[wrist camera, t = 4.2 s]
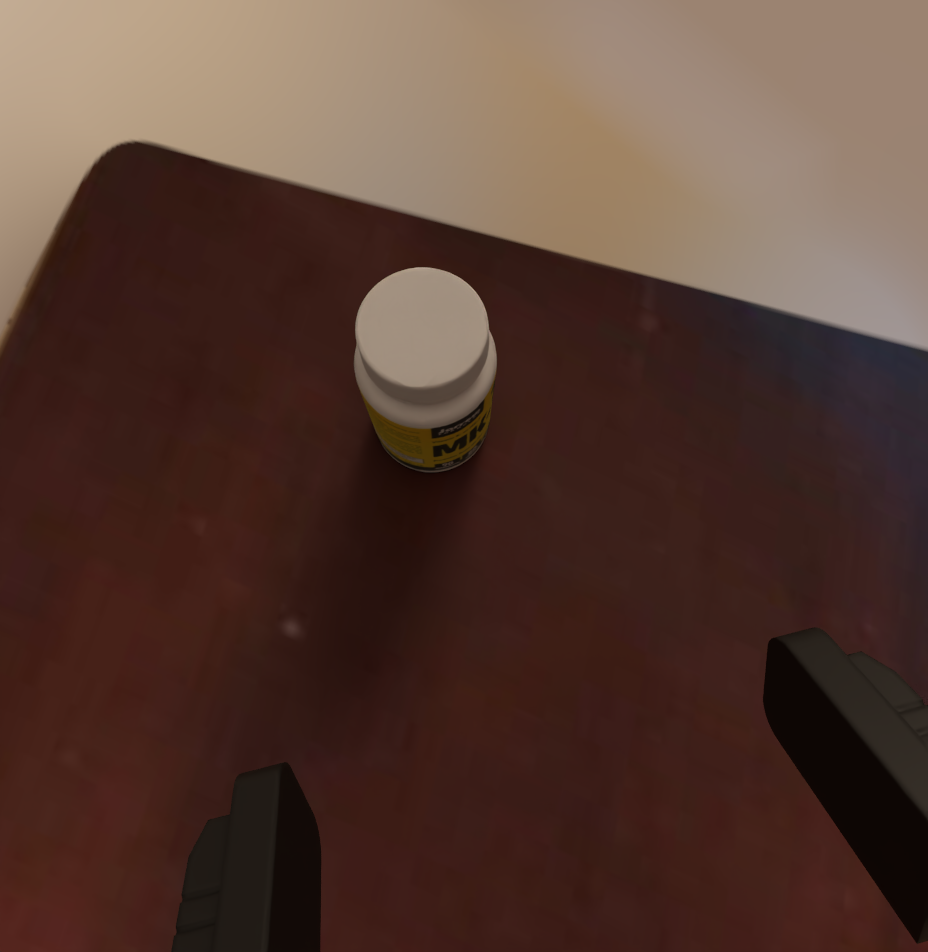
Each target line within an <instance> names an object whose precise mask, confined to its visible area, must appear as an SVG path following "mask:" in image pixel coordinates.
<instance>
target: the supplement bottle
mask: <svg viewBox="0 0 928 952" xmlns="http://www.w3.org/2000/svg"><path fill="white" fill-rule="evenodd" d="M355 334H356V341H357V346H356V350H355V357H354V369H355V375H356V381H357V384H358V386H359V389H360V392H361V394H362V397H363V400H364V402H365V405H366V407H367V410H368V413H369V415H370V418H371V420H372V423H373V426H374V428H375V431H376V433H377V436H378V438H379V440H380V442H381V444H382V446H383V447H384V449H385V450H386V451H387V452H388V454H389V455H390V456H391V457H393V458H394V459H395V460H396V461H397V462H399V463H401V464H402V465H404V466H406V467H408V468H411V469H414V470H417V471H422V472H441V471H446V470H450V469H452V468H455V467H457V466H459V465H461V464H463V463H464V462H466V461H467V460H468V459H469V458H471V457H472V456H473V455H474V454H475V453H476V451H477V450H478V449H479V447H480V446H481V444H482V443H483V441H484V439H485V436H486V434H487V431H488V427H489V421H490V414H491V406H492V398H493V391H494V385H495V376H496V367H497V356H496V349H495V344H494V341H493V338H492V335H491V333H490V331H489V325H488V318H487V314H486V310H485V307H484V305H483V303H482V301H481V299H480V298H479V296H478V295H477V293H476V292H475V291H474V290H473V288H472V287H471V286H469V285H468V284H467V283H466V282H465V281H463V280H462V279H461V278H459V277H457V276H455V275H453V274H451V273H449V272H446V271H443V270H439V269H434V268H411V269H406V270H402V271H399V272H396V273H394V274H392V275H390V276H388V277H386V278H385V279H383V280H382V281H380V282H379V283H378V284H376V285H375V286H374V287H373V288H372V289H371V291H370V292H369V293H368V294H367V296H366V297H365V299H364V300H363V302H362V304H361V306H360V308H359V311H358V314H357V319H356V326H355Z"/></svg>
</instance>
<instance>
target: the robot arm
mask: <svg viewBox="0 0 928 952" xmlns="http://www.w3.org/2000/svg"><path fill="white" fill-rule="evenodd" d="M763 703H764V709H765V713H766V716H767V719H768V722H769V725H770V727H771V729H772V731H773V733H774V735H775V736H776V738H777V739H778V741H779V742H780V744H781V745H782V747H783V748H784V750H785V751H786V753H787V754H788V755H789V757H790V758H791V760H792V761H793V763H794V764H795V766H796V767H797V769H798V770H799V772H800V773H801V774H802V776H803V777H804V779H805V780H806V782H807V783H808V785H809V786H810V788H811V789H812V791H813V792H814V794H815V795H816V796H817V798H818V799H819V801H820V802H821V804H822V805H823V807H824V808H825V810H826V811H827V813H828V814H829V816H830V817H831V818H832V820H833V821H834V823H835V824H836V826H837V827H838V829H839V830H840V832H841V833H842V835H843V836H844V838H845V839H846V840H847V842H848V843H849V845H850V846H851V848H852V849H853V851H854V852H855V854H856V855H857V857H858V858H859V859H860V861H861V862H862V864H863V865H864V867H865V868H866V870H867V871H868V873H869V874H870V876H871V877H872V879H873V880H874V881H875V883H876V884H877V886H878V887H879V889H880V890H881V892H882V893H883V895H884V896H885V898H886V899H887V901H888V902H889V903H890V905H891V906H892V908H893V909H894V911H895V912H896V914H897V915H898V917H899V918H900V920H901V921H902V922H903V924H904V925H905V927H906V928H907V930H908V931H909V933H910V934H911V936H912V937H913V939H914V940H915V942H916V943H917V944H918V943H921V942H925V941H928V705H927V706H926V705H924V703H923V699H922V698H921V697H920V696H919V695H918V694H917V693H916V692H915V691H914V690H913V689H912V688H911V687H910V686H909V685H908V684H907V683H906V682H905V681H904V680H903V679H902V678H901V677H900V676H899V675H898V674H897V672H895V671H893V670H892V669H890V668H888V667H887V666H885V665H883V664H882V663H880V662H878V661H877V660H875V659H873V658H871V657H870V656H868V655H866V654H865V653H863V652H857V653H853V654H850V655H846V654H845V653H844V652H843V651H842V649H841V648H840V647H839V646H838V645H837V644H836V643H835V642H834V641H833V639H832V638H831V637H830V636H829V635H828V634H827V633H826V632H824V631H823V630H821V629H820V628H810V629H806V630H803V631H799V632H795V633H791V634H787V635H783V636H779V637H776V638H772V639H771V640H770V641H769V643H768V649H767V661H766V672H765V683H764V695H763ZM182 899H183V900H182V903H180V907H179V912H178V918H177V923H176V930H177V933H176V935H175V936H174V940H173V945H172V951H171V952H320V922H321V845H320V837H319V831H318V827H317V823H316V819H315V817H314V814H313V812H312V810H311V808H310V806H309V804H308V802H307V800H306V798H305V796H304V793H303V791H302V789H301V787H300V785H299V783H298V781H297V779H296V777H295V775H294V773H293V771H292V769H291V767H290V765H289V764H288V763H287V762H284V763H280V764H276V765H272V766H269V767H265V768H261V769H257V770H253V771H249V772H245V773H241V774H239V775H238V776H237V778H236V780H235V784H234V789H233V796H232V804H231V811H230V815H226V816H222V817H218V818H214V819H211V820H208V822H207V823H206V825H205V827H204V829H203V831H202V833H201V835H200V837H199V838H198V840H197V842H196V844H195V846H194V848H193V850H192V851H191V853H190V855H189V858H188V863H187V869H186V874H185V880H184V885H183V891H182Z"/></svg>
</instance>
